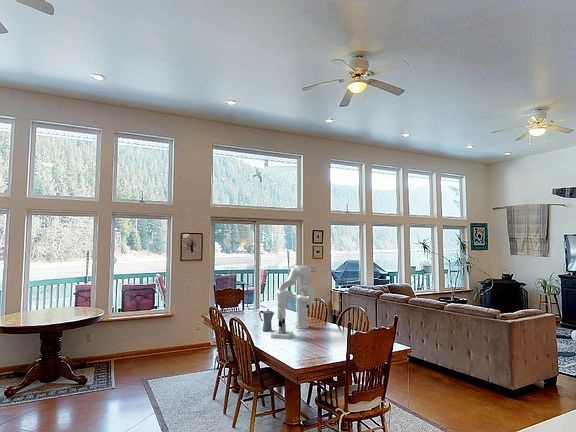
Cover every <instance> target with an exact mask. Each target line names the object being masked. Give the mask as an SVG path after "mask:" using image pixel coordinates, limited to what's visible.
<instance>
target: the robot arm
mask: <svg viewBox="0 0 576 432" xmlns="http://www.w3.org/2000/svg"><path fill="white" fill-rule="evenodd" d="M311 272H312V268H311V266H310V265H304V264H303V265H301V264H298V265H297V264H296V265H295V266H293V267H291V269H290V271H289V273H288V276H287V279H286V280H284V281H283V282H282V283H281V284H280V286H279V288H278V289H277V294H276V296H277V309H278V310H277V320H278V328H279V327H282V323H284V324H286V313H287V312H286V308H287V300H291V299H293V296H294V294H293V292H292V291H291V290H286V289H287V288H290V287H292V286H294V285H296V283H297V291H298V292H299V293H300V294H297V295H296V297H295V300H296V306H297V307H296V308H297V310H296V311H297V318H296V319H297V325H295V328H297V329H308V328H310V326H309V324H308V307H307V306H306V305H309V306H311V305H313V304H314V302H315V285H314V284H313V283H312V282H311V283H309V282H308V277H307V276H309V275H310V274H311Z"/></svg>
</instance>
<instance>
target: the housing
mask: <svg viewBox="0 0 576 432" xmlns="http://www.w3.org/2000/svg"><path fill="white" fill-rule="evenodd" d="M293 336H294V331H293V330H286V333H285V334H279V329H276V330H274V332H273V333H271V334H270V338H271V339H280V340H281V339H283V340H289V339H291V338H292V337H293Z"/></svg>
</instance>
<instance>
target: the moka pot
mask: <svg viewBox="0 0 576 432" xmlns="http://www.w3.org/2000/svg"><path fill="white" fill-rule="evenodd" d="M261 314H262V315H263V319H262V315H261ZM274 315H275V312H274V311H272V310H270V309H269V308H267V310H259V313H258V316H259V318H260V321H262V322H263V326H262V331H263V332H272V331H273V329H272V320H273V316H274Z"/></svg>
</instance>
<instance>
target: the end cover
mask: <svg viewBox="0 0 576 432" xmlns="http://www.w3.org/2000/svg"><path fill="white" fill-rule="evenodd" d="M286 326H287V325H286V323H285V324H284V323H282V327H279V326H278V330H279V334H285V333H286V331H287V330H286V329H287V327H286Z"/></svg>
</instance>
